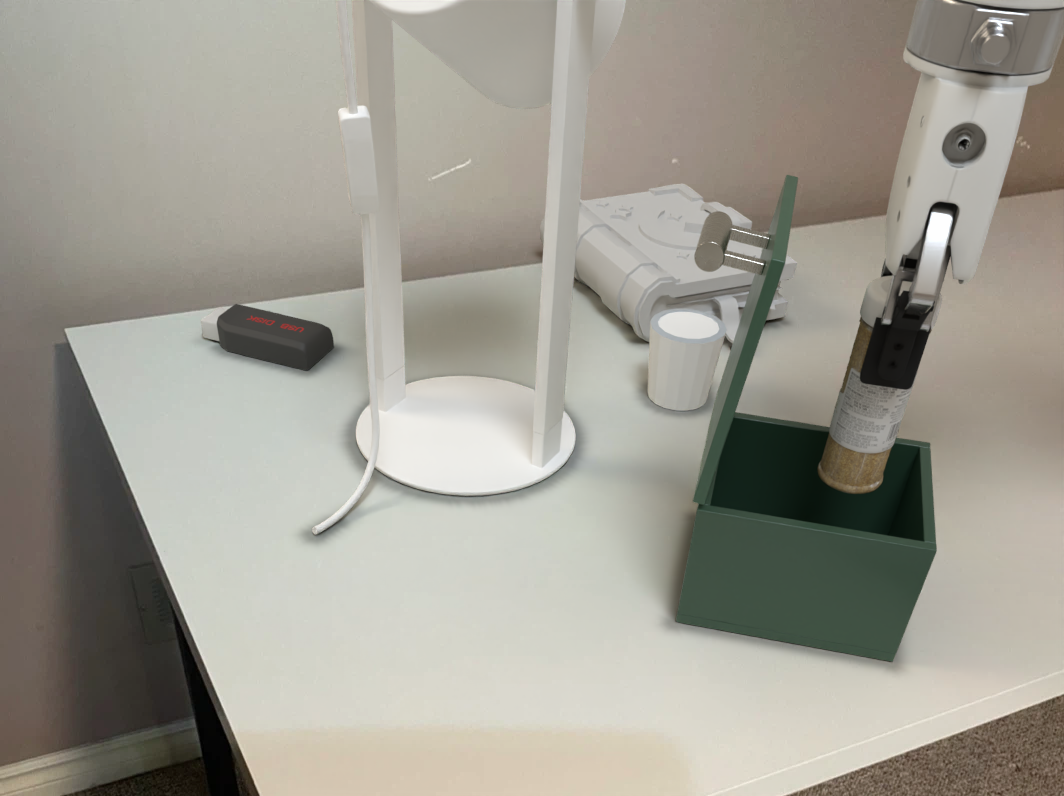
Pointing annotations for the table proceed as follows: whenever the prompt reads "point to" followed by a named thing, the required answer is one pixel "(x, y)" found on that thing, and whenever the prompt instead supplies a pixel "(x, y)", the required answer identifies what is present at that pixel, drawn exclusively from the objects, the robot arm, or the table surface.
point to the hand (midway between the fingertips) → (885, 361)
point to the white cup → (683, 357)
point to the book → (662, 258)
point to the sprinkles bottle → (864, 410)
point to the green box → (809, 543)
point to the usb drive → (268, 335)
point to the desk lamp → (372, 181)
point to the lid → (754, 315)
